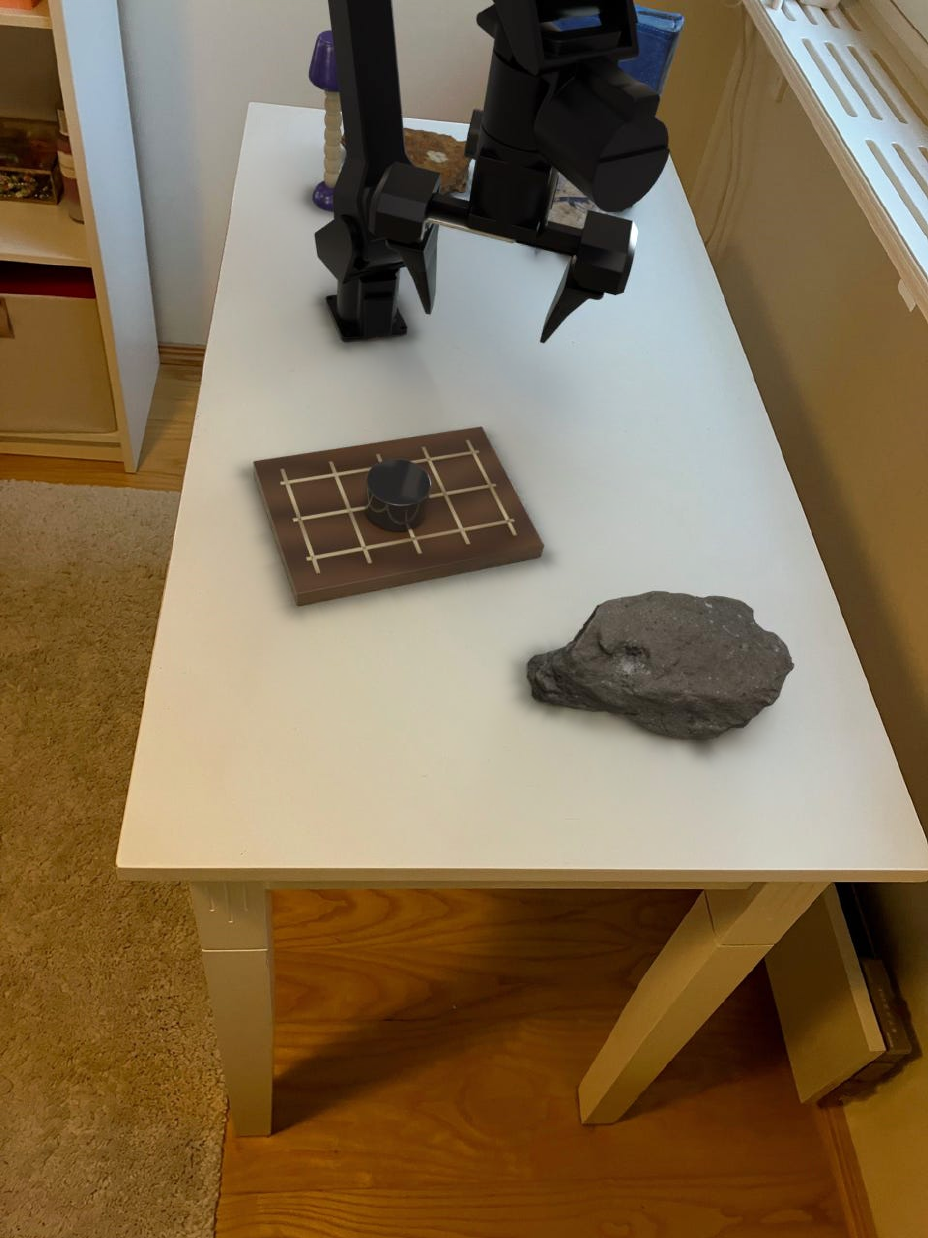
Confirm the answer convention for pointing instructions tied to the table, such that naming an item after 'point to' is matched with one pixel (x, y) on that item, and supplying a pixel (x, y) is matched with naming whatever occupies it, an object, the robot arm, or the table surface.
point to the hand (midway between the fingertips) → (485, 325)
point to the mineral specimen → (570, 205)
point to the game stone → (397, 494)
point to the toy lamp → (327, 116)
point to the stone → (667, 664)
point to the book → (644, 44)
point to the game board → (378, 558)
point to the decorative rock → (437, 157)
